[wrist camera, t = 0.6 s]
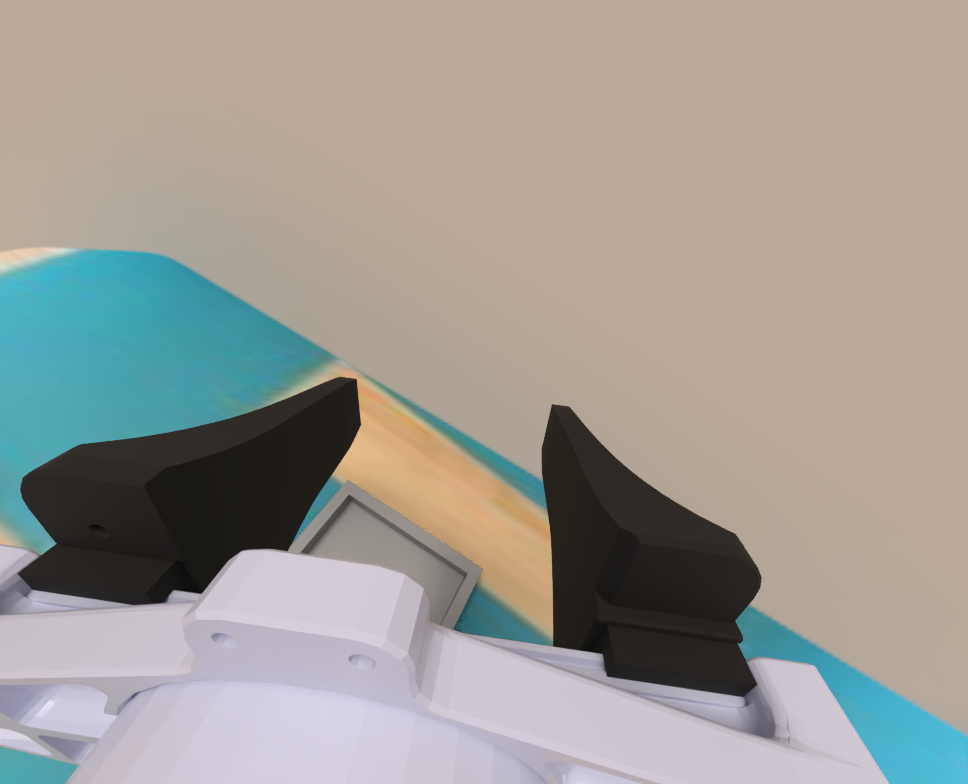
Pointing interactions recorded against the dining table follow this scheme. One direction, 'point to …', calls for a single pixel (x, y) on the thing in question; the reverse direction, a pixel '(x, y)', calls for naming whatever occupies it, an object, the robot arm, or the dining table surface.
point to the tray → (391, 549)
